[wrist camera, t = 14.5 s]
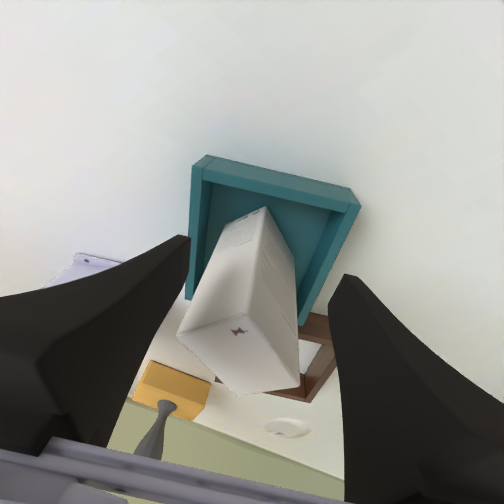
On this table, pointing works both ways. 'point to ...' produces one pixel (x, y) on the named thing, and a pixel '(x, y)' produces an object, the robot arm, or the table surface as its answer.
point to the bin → (283, 212)
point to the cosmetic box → (247, 309)
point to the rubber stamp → (167, 402)
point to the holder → (321, 365)
